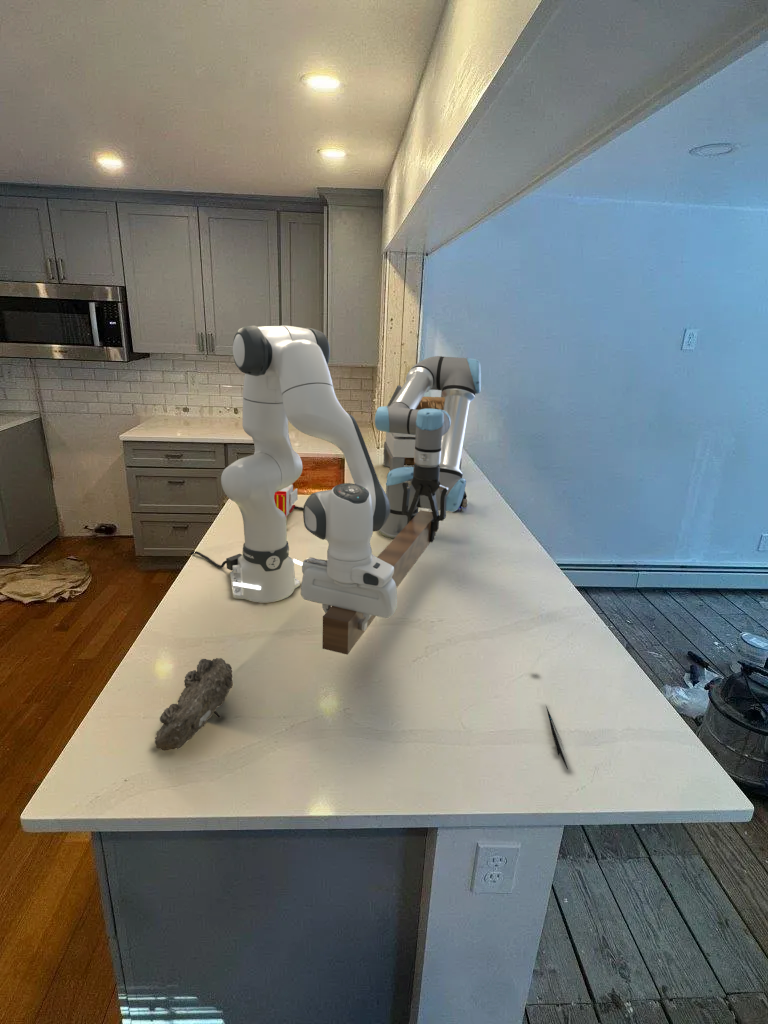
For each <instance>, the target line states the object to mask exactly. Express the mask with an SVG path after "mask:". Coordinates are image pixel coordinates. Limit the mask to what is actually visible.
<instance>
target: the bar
mask: <svg viewBox="0 0 768 1024" xmlns="http://www.w3.org/2000/svg"><path fill="white" fill-rule="evenodd" d="M432 520H433V515H432V511H429V510H428V511H427V510H422V509H420V510H418V513H417V514H416V515H415V516H414V517H413V519H412V520H411V521H410V522H409V523H408V524H407V525H406V526H405V527H404V528H403V529H402V531H401V532H400V533H399V534H398V535H397V536H396V537H395V538H394V539H391V541H390V542H389V543H388V544H387V545H386V547H385V548H383V550H382V551H381V552H380V553H379V554H378V555H377V556H376V557H377V558H379V559H381V560H383V561H385V562H386V563H388V564H390V565H392V566H393V567H394V574H393V576H392V579H393V580H394V581H395V583H396V588H397V589H398V587H399V586H400V584H401V583H402V581H403V580H404V579H405V577H406V576H407V575H408V574H409V573H410V571H411V570H412V568H414V565H415V564H416V563H417V561H419V559H420V558H421V556H422V555H423V553H424V552H425V550H426V549H427V548H428V546H429V545H430V544H431V542H430V530H431V521H432ZM436 536H437V532H435V537H436ZM376 617H377V616H374V615H372V616H371V617H370V618H369V620H368V621H367V628H366V630H367V629H368V628H369V627H370V625H371V623H373V621H374V620H375V618H376ZM365 618H366V617H363V613H360V612H356V611H352V610H347V609H343V608H338V607H334V606H331V608H330V609H329V610H328V611H327V612H326V613H325V612H324V614H323V616H322V649H323V650H327V651H331V652H334V653H338V654H342V655H346V656H347V655H349V654H350V652H351V651H352V650H353V648H354V647H355V645H356V644H357V642H358V641H359V640H360V639H361V637H362V636H363V634H364V633H365V632H366V630H365V631H362V630H358V622H359V621H360V619H365Z"/></svg>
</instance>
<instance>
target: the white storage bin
mask: <svg viewBox="0 0 768 1024" xmlns="http://www.w3.org/2000/svg"><path fill="white" fill-rule="evenodd" d="M402 387H403V386H402V385H399V384H398V385H397V386H396V388H395V390H394V392H393V394H392V395H391V398H390V400H389V402H388V404H387V405H386V406H387V407H389V406H390V405H391V403H392V402H393V400H394V399H395V397H396V396H397V394H398V393H399V391H400V390H401V388H402ZM440 393H441V394H440V396H423V397H422V399H421V401H420V403H419V404H418V406H417V408H416V409H417V410H421V409H441V410H443V409H444V403H445V398H444V397H443V396H442V391H441V392H440ZM415 438H416V435H411V434H402V433H391V432H389V433H388V432H385V438H384V442H383V466H384V467H388V468H389V472H390V471H391V470H393V469H396V468H401V467H405V466H406V467H414V464H415V462H414V454H415ZM462 461H463V460H462V457H461V459H460V466H459V469H460V471H461V472H462Z"/></svg>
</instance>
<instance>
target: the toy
mask: <svg viewBox="0 0 768 1024" xmlns="http://www.w3.org/2000/svg"><path fill="white" fill-rule="evenodd" d="M298 498H299V496H298V488H295V489H294V484H291V485H290V486H288V487H286V488H284V489H282V490H279V491H277V492H275V495H274V500H275V504H276V507H277V508H278V509H280V510H281V511H283V512H284V514H285V516H286V518H287V517H288V516H289V514H290V513H292V512H293V510H295V509H294V506H296V504H295V503H296V502H297V501H299V500H298Z"/></svg>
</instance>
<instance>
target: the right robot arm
mask: <svg viewBox="0 0 768 1024" xmlns="http://www.w3.org/2000/svg"><path fill="white" fill-rule="evenodd" d="M481 368H482V367H481V362H480V361H479V359H477V358H469V357H456V356H442V355H440V356H439V355H435V356H430V357H427V358H424V359H422V360H420V361H419V362H417V363H416V364H414V365H413V366H412V367H411V368H410V369H409V371H408V372H407V374H406V377H405V382H404V383H403V385H402V386H401V387H402V388H401V390H400V391H399V393H398V394H397V396H396V397H395V399H394V400H393V402H392V403H391V405H390V406H389V407H387V405H385V406H383V405H382V406H381V405H380V406H379V407H377V409H376V410H375V411H376V412H375V417H374V425H375V428H376V430H377V431H379V432H384V433H386V432H388V433H389V432H391V433H402V434H411V435H416V438H415V454H414V462H415V464H414V466H404V467H401V468H396V469H393V470H391V471H390V470H389V472H388V473H387V475H386V482H385V493H386V495H387V498H388V500H389V504H390V515H389V517H388V519H387V521H386V523H385V524H384V525H383V527H382V528H381V529H380V530H378V533H379V534H380V535H381V536H382V537H385V538H387V539H389V540H393V539H394V538H395V537H396V536H397V535H398V534H399V533H400V532H401V531H402V529H403V528H404V527H405V526H406V525H407V524H408V523H409V522H410V521H411V520H412V519H413V517H414V516H415V515H416V514H417V513H418V512H419V508H420V509H426V510H427V509H428V510H431V512H432V515H433V520H432V521H431V530H430V544H432V543H433V542H434V541H435V539H436V536H435V532H436V533H437V532H438V531H439V528H440V522H443V521H444V520H445V519H446V518H447V512H452V513H454V512H456V511H458V510H459V509H460V508H459V506H460V504H461V502H462V499H463V495H464V491H465V492H466V486H467V480H466V479H465V478H464V477H463V472H462V470H461V471H460V469H459V466H460V459H461V458H462V453H463V447H464V446H463V445H464V439H465V435H466V427H467V421H468V414H469V407H470V403H471V402H472V401H474V400H475V398H476V395H478V394H480V393H481V389H482V369H481ZM431 390H432V391H433V390H434V391H441V392H442V396H443V397H444V398H445V403H444V409H443V410H441V409H421V410H417V409H416V408H417V406H418V404H419V403H420V401H421V399H422V397H425V394H426V393H428V392H429V391H431ZM303 508H304V507H301V506H297V505H295V506H294V509H293V510H300V511H303ZM458 508H459V509H458Z"/></svg>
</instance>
